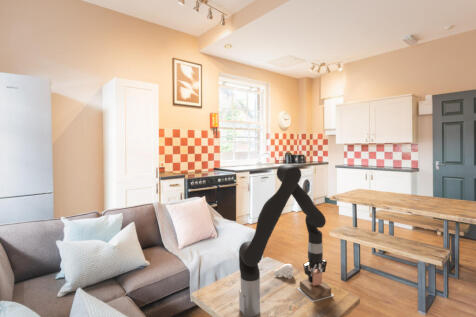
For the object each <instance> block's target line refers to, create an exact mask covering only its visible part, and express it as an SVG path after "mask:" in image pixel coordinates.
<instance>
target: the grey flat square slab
mask: <svg viewBox="0 0 476 317" xmlns="http://www.w3.org/2000/svg"><path fill="white" fill-rule="evenodd" d="M296 290H298V291H299V292H300V293H301V294H302V295H304V296H305V298H307V299H308V300H309V301H311V303H315V302H319V301H323V300H326V299H328V298H329V299H330V298H332V297H335V294H333V293H331V296H328V297H324V298H321V299H317V300H313V299H312V298H310V297H309V296H308V295H307V294H306V293H305V292H303V291H302V290H301V289H300V286H299V287H296Z"/></svg>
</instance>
